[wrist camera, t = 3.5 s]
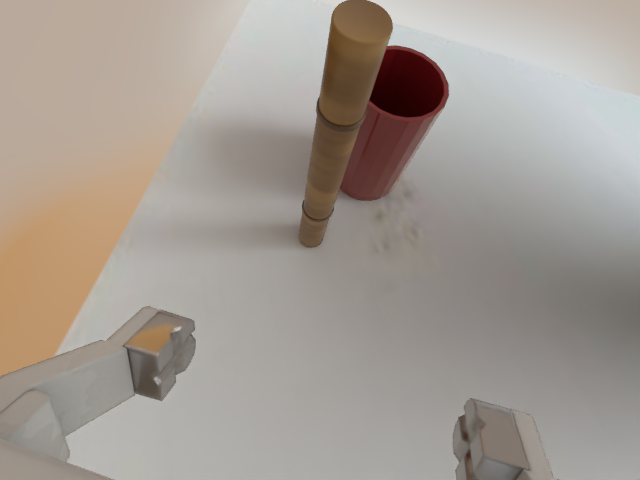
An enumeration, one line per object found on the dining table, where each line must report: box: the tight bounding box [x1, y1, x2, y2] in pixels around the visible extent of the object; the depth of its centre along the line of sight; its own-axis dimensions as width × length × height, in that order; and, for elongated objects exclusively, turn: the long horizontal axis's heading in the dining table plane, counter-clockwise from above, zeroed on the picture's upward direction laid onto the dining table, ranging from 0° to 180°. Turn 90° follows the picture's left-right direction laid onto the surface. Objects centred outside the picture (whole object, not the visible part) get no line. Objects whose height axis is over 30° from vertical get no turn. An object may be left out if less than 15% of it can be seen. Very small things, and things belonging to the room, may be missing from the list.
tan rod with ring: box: [299, 0, 393, 247], centre depth 22 cm, size 2×2×21 cm
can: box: [340, 46, 449, 200], centre depth 30 cm, size 7×7×12 cm
